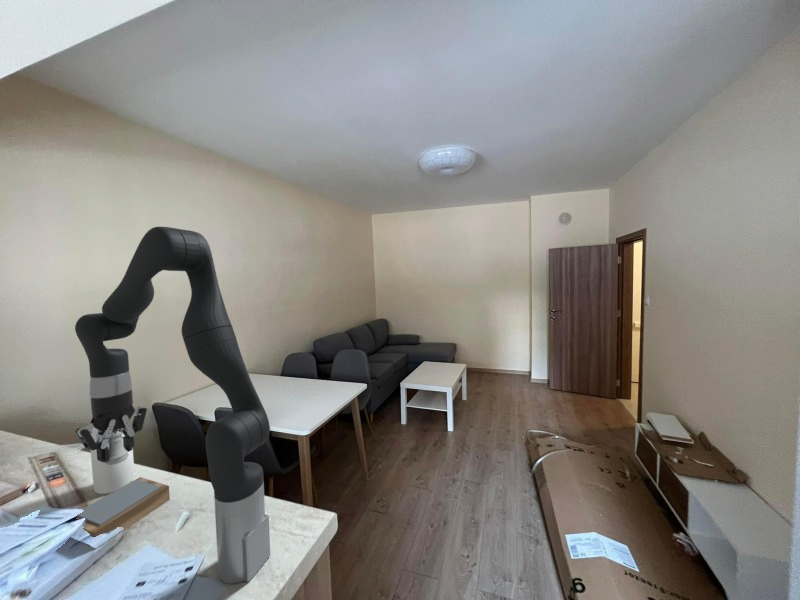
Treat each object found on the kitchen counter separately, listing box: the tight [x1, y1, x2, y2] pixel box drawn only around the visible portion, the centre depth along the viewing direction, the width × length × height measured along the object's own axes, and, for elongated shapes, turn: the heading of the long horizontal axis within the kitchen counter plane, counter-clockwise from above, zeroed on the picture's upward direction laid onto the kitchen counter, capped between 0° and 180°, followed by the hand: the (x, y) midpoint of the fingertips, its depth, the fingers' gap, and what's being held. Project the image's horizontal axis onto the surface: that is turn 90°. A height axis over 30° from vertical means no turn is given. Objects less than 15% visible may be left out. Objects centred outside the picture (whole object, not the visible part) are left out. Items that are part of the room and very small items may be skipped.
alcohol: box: [90, 428, 136, 495], centre depth 87 cm, size 9×9×30 cm
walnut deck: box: [76, 477, 171, 537], centre depth 76 cm, size 12×16×4 cm
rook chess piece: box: [105, 429, 129, 465], centre depth 75 cm, size 4×4×8 cm
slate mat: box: [77, 478, 161, 526], centre depth 76 cm, size 10×13×1 cm
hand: (116, 455), depth 75 cm, fingers closed on rook chess piece, 4 cm apart
